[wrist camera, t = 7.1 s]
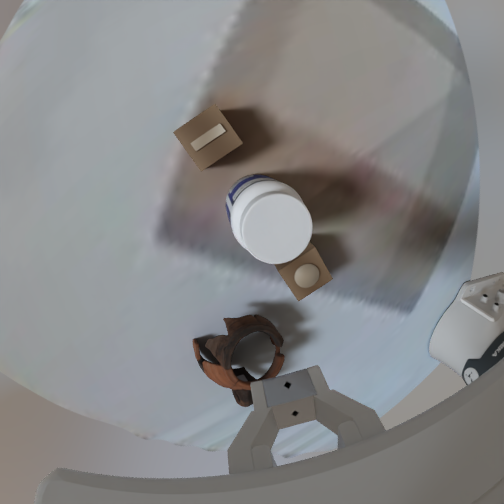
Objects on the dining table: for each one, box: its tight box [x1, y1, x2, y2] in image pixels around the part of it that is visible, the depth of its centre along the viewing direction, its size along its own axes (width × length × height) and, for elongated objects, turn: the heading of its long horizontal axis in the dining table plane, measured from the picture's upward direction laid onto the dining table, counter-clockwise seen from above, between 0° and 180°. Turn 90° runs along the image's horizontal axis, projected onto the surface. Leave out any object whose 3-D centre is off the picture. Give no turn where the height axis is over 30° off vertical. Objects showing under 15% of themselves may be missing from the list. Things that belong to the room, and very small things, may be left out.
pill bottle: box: [226, 174, 313, 264], centre depth 22 cm, size 6×6×10 cm
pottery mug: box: [193, 315, 285, 407], centre depth 30 cm, size 12×10×8 cm
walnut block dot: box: [275, 242, 333, 301], centre depth 28 cm, size 4×4×4 cm
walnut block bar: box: [173, 104, 243, 172], centre depth 22 cm, size 4×4×4 cm
